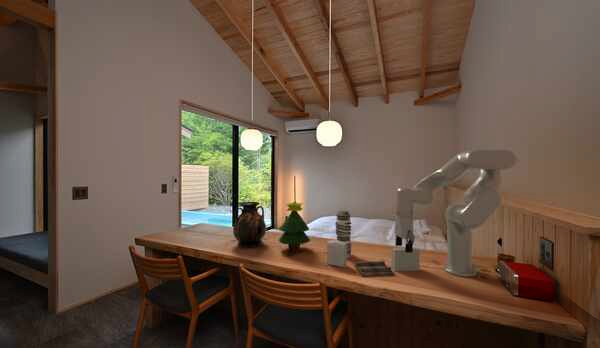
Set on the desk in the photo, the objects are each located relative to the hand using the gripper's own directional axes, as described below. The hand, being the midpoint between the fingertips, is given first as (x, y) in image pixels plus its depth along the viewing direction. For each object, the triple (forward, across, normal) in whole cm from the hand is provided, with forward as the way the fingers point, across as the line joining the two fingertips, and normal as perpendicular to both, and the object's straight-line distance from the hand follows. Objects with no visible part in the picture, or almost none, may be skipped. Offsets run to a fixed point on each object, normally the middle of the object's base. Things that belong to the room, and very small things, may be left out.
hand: (403, 248), depth 112 cm
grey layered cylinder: (+11, -22, -24) cm, 34 cm away
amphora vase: (+13, -45, -81) cm, 93 cm away
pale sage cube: (+10, 0, +1) cm, 10 cm away
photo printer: (+11, -8, -31) cm, 34 cm away
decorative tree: (+12, -33, -52) cm, 63 cm away
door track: (+10, 0, -15) cm, 18 cm away
